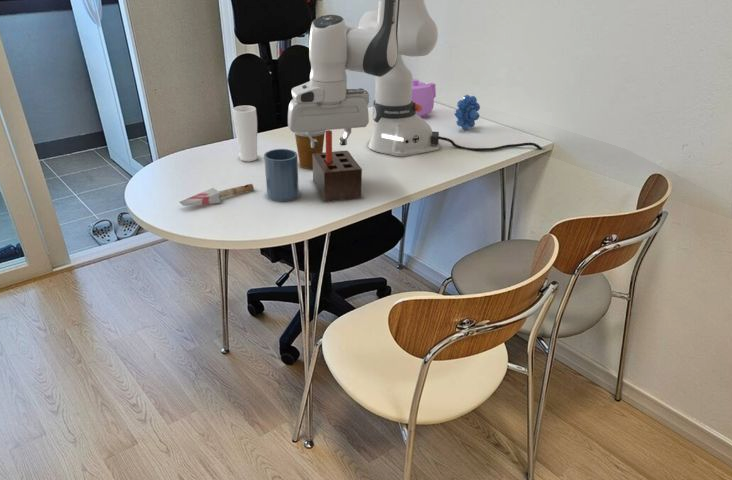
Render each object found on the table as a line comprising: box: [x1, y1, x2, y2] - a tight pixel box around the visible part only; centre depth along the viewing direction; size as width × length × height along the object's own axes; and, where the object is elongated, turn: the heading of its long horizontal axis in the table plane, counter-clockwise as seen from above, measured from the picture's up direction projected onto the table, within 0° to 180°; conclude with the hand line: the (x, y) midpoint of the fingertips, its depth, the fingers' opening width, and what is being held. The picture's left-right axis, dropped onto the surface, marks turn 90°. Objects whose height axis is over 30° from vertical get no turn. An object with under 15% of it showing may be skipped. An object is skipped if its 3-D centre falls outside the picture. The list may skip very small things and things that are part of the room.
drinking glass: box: [232, 105, 259, 162], centre depth 163 cm, size 7×7×15 cm
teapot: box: [411, 78, 437, 118], centre depth 201 cm, size 20×12×13 cm, turn 122°
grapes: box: [454, 94, 481, 131], centre depth 188 cm, size 12×7×12 cm, turn 127°
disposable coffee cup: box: [293, 130, 327, 170], centre depth 160 cm, size 10×10×12 cm
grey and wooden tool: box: [178, 183, 255, 207], centre depth 142 cm, size 4×3×20 cm
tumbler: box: [263, 148, 300, 203], centre depth 143 cm, size 8×8×11 cm
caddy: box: [312, 150, 363, 203], centre depth 147 cm, size 10×14×8 cm
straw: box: [325, 130, 333, 164], centre depth 144 cm, size 2×2×16 cm
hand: (328, 146), depth 142 cm, fingers open, 6 cm apart
